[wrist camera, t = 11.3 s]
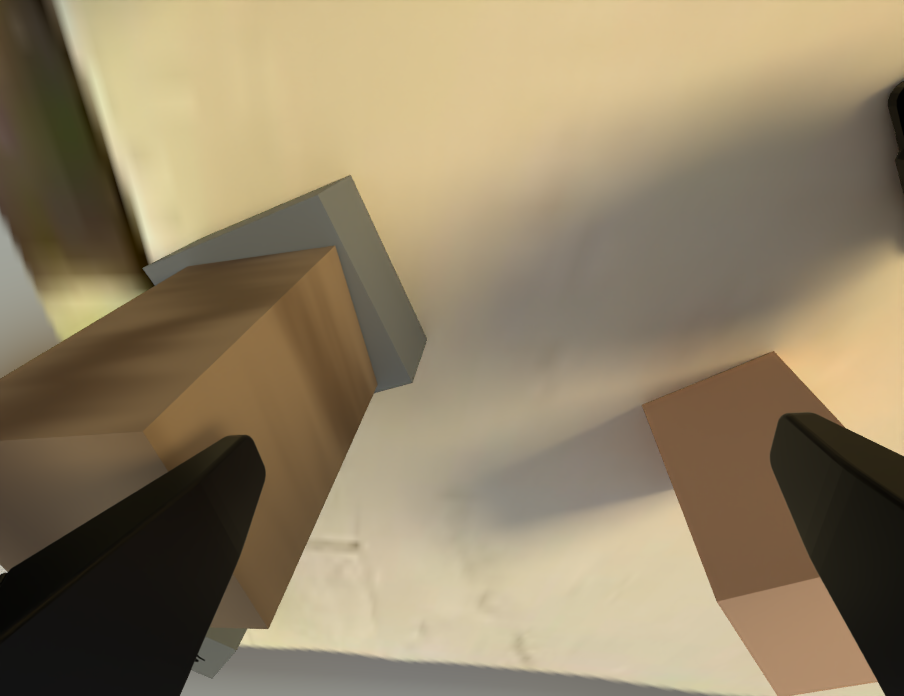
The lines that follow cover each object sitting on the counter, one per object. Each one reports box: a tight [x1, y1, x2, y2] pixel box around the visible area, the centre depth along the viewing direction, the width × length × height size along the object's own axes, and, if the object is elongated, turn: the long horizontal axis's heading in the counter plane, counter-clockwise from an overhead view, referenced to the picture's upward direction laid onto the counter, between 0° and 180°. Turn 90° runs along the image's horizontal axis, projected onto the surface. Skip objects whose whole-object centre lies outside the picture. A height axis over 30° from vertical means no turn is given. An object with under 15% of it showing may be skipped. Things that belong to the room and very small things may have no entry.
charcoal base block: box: [143, 175, 427, 393], centre depth 21 cm, size 8×8×4 cm
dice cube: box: [191, 627, 247, 679], centre depth 33 cm, size 5×5×5 cm
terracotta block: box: [642, 351, 878, 696], centre depth 19 cm, size 6×6×10 cm
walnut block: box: [0, 246, 378, 629], centre depth 14 cm, size 6×6×10 cm
